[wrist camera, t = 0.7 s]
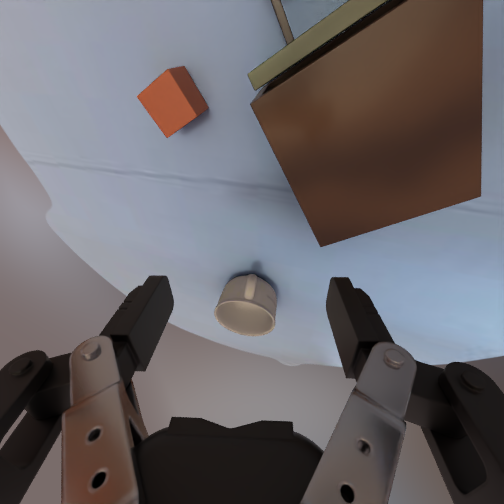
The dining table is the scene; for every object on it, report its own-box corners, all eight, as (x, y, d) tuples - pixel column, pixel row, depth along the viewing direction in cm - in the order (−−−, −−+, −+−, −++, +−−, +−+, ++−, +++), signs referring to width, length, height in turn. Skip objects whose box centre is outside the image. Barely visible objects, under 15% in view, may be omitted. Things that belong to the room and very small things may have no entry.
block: (155, 90, 27) (136, 96, 23) (184, 65, 25) (167, 68, 21) (181, 127, 29) (166, 138, 26) (209, 107, 27) (197, 116, 24)
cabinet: (262, 87, 25) (249, 104, 18) (415, -17, 19) (484, -51, 12) (315, 205, 33) (320, 247, 26) (434, 158, 27) (481, 196, 20)
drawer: (228, -1, 21) (204, -17, 15) (395, -155, 15) (454, -270, 10) (312, 189, 31) (316, 221, 25) (428, 139, 25) (466, 166, 20)
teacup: (266, 308, 51) (262, 343, 45) (218, 293, 50) (208, 327, 44) (293, 266, 42) (293, 303, 36) (235, 247, 41) (225, 282, 35)
